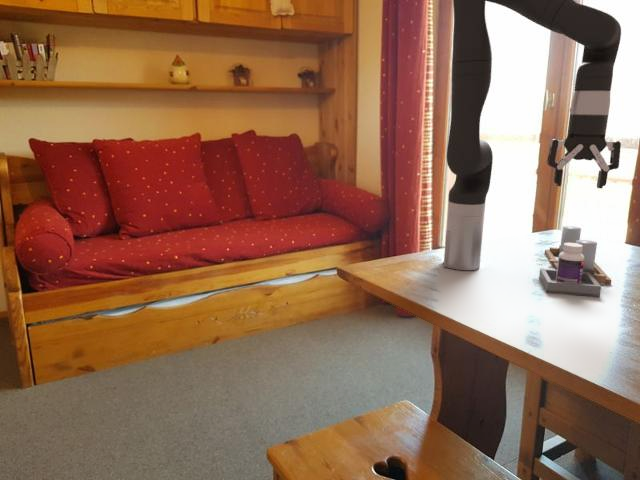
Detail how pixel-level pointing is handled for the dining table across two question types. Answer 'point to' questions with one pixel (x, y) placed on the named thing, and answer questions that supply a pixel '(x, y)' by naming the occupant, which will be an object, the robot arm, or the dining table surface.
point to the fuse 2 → (588, 253)
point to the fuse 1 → (569, 235)
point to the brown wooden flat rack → (599, 275)
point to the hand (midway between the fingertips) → (578, 186)
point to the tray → (569, 284)
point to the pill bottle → (570, 264)
